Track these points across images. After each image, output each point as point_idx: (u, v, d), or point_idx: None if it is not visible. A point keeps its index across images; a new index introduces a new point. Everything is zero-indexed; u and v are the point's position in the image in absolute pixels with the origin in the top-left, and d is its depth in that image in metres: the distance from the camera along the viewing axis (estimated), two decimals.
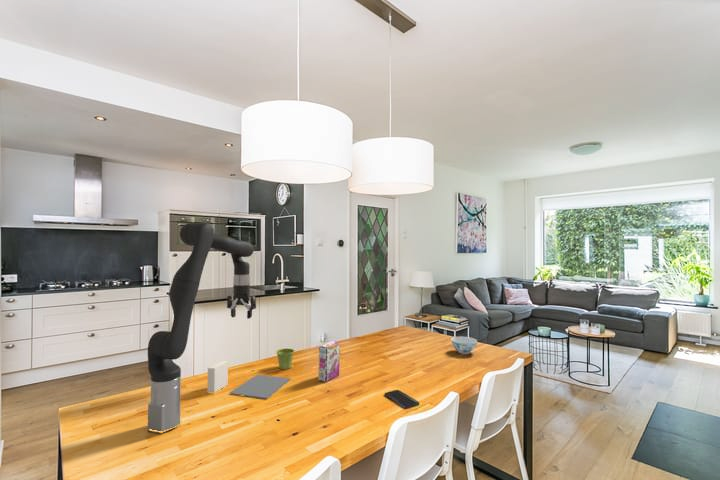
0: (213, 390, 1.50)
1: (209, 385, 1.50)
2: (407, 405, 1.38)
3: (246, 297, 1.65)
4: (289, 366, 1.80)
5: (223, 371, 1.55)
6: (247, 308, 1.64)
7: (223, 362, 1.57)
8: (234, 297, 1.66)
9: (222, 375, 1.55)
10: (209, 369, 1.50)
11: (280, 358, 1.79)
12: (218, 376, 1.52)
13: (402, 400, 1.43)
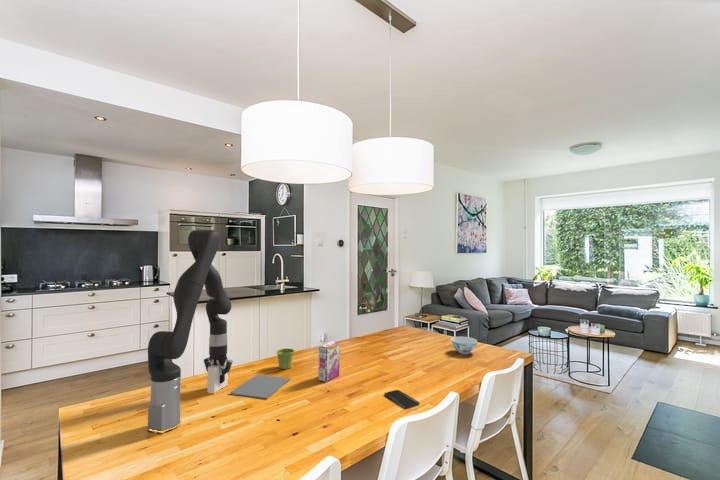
0: (213, 390, 1.50)
1: (209, 384, 1.50)
2: (407, 405, 1.38)
3: (223, 359, 1.52)
4: (289, 366, 1.80)
5: None
6: (220, 372, 1.53)
7: None
8: (210, 358, 1.54)
9: None
10: (209, 369, 1.50)
11: (280, 358, 1.79)
12: (218, 376, 1.52)
13: (402, 400, 1.43)
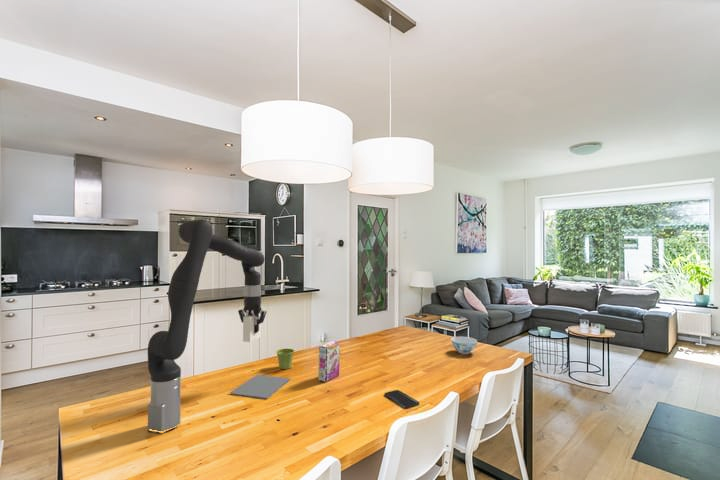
0: (249, 338, 1.54)
1: (244, 333, 1.55)
2: (407, 405, 1.38)
3: (257, 309, 1.57)
4: (289, 366, 1.80)
5: None
6: (254, 322, 1.57)
7: None
8: (245, 309, 1.59)
9: None
10: (245, 318, 1.55)
11: (280, 358, 1.79)
12: (253, 325, 1.57)
13: (402, 400, 1.43)
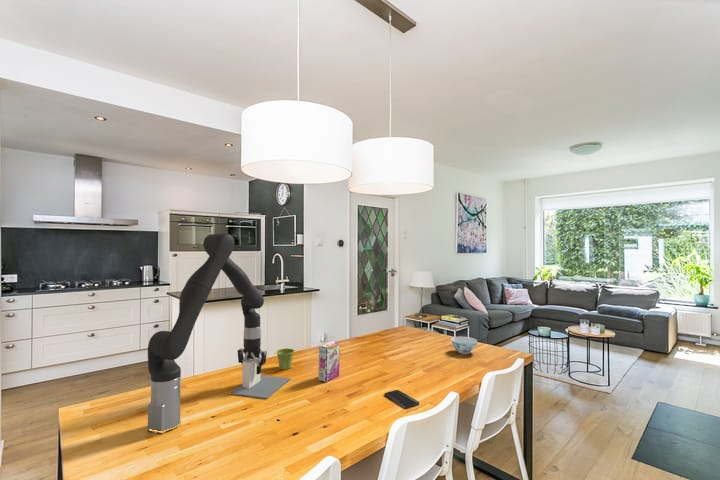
0: (248, 384, 1.54)
1: (244, 379, 1.55)
2: (407, 405, 1.38)
3: (257, 351, 1.57)
4: (289, 366, 1.80)
5: (256, 366, 1.60)
6: (257, 363, 1.57)
7: None
8: (244, 350, 1.59)
9: (256, 370, 1.59)
10: (244, 364, 1.55)
11: (280, 358, 1.79)
12: (252, 371, 1.57)
13: (402, 400, 1.43)
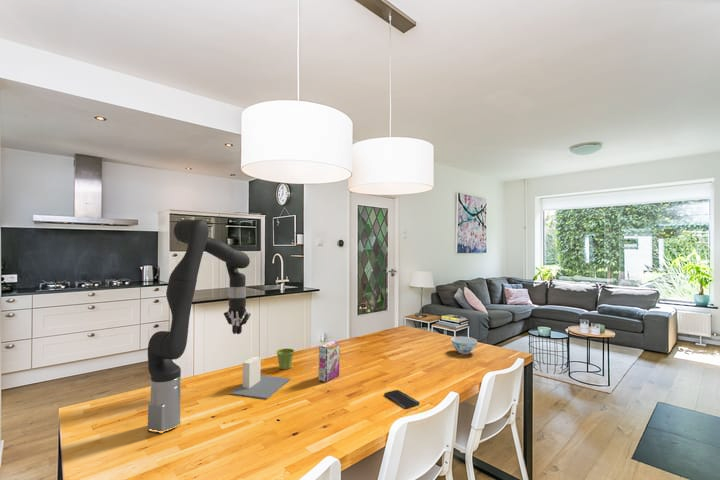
0: (248, 384, 1.54)
1: (244, 379, 1.55)
2: (407, 405, 1.38)
3: (242, 311, 1.59)
4: (289, 366, 1.80)
5: (256, 366, 1.60)
6: (237, 323, 1.60)
7: (256, 357, 1.62)
8: (229, 310, 1.61)
9: (256, 370, 1.59)
10: (244, 364, 1.55)
11: (280, 358, 1.79)
12: (252, 371, 1.57)
13: (402, 400, 1.43)
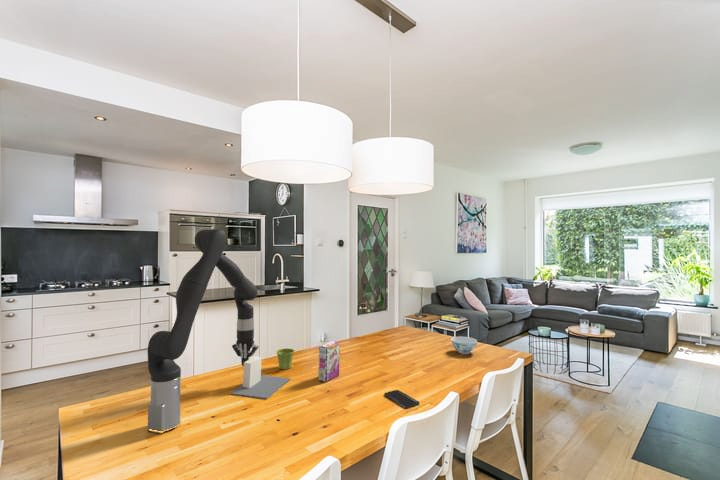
0: (248, 384, 1.54)
1: (244, 379, 1.55)
2: (407, 405, 1.38)
3: (250, 343, 1.58)
4: (289, 366, 1.80)
5: (257, 366, 1.60)
6: (244, 355, 1.59)
7: (257, 357, 1.62)
8: (237, 342, 1.60)
9: (256, 370, 1.59)
10: (245, 364, 1.55)
11: (280, 358, 1.79)
12: (253, 371, 1.57)
13: (402, 400, 1.43)
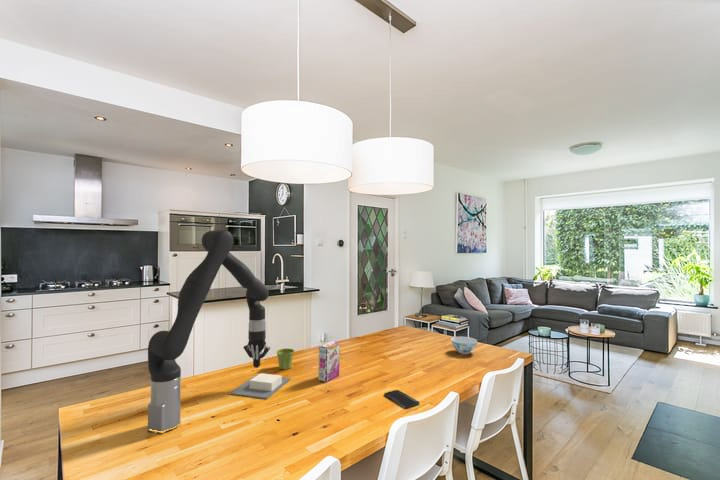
0: (252, 387, 1.54)
1: (256, 383, 1.53)
2: (407, 405, 1.38)
3: (262, 344, 1.56)
4: (289, 366, 1.80)
5: None
6: (256, 356, 1.57)
7: (280, 381, 1.58)
8: (249, 343, 1.58)
9: None
10: (270, 385, 1.51)
11: (280, 358, 1.79)
12: None
13: (402, 400, 1.43)
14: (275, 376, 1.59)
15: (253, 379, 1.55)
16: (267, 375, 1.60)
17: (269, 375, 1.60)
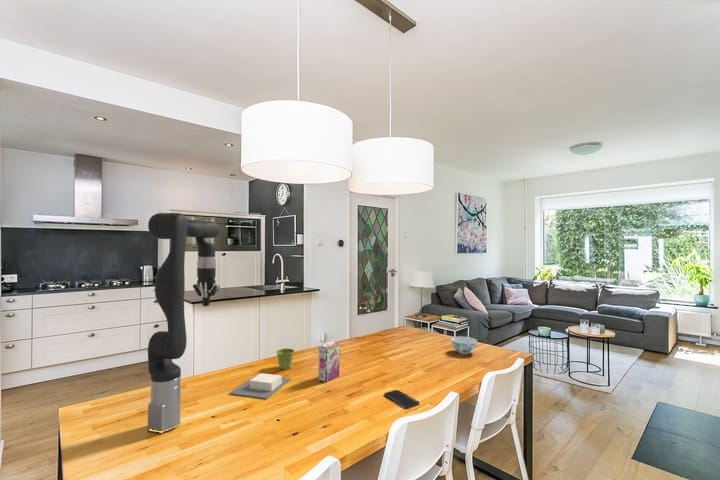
0: (252, 387, 1.54)
1: (256, 383, 1.53)
2: (408, 405, 1.38)
3: (211, 282, 1.52)
4: (289, 366, 1.80)
5: None
6: (205, 294, 1.53)
7: (280, 381, 1.58)
8: (198, 281, 1.54)
9: None
10: (270, 385, 1.51)
11: (280, 358, 1.79)
12: None
13: (402, 400, 1.43)
14: (275, 376, 1.59)
15: (253, 379, 1.55)
16: (267, 375, 1.60)
17: (269, 375, 1.60)
